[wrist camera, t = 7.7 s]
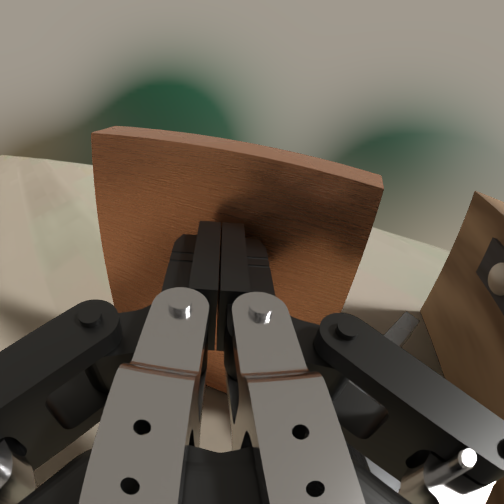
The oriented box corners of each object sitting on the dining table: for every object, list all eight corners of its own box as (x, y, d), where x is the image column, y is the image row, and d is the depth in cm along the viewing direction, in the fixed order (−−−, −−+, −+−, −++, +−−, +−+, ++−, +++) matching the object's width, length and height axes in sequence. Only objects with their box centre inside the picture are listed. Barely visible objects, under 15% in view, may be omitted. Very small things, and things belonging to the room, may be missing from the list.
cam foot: (420, 353, 20) (504, 195, 12) (407, 540, 8) (640, 404, 1) (184, 280, 24) (189, 109, 17) (65, 419, 12) (-49, 191, 5)
